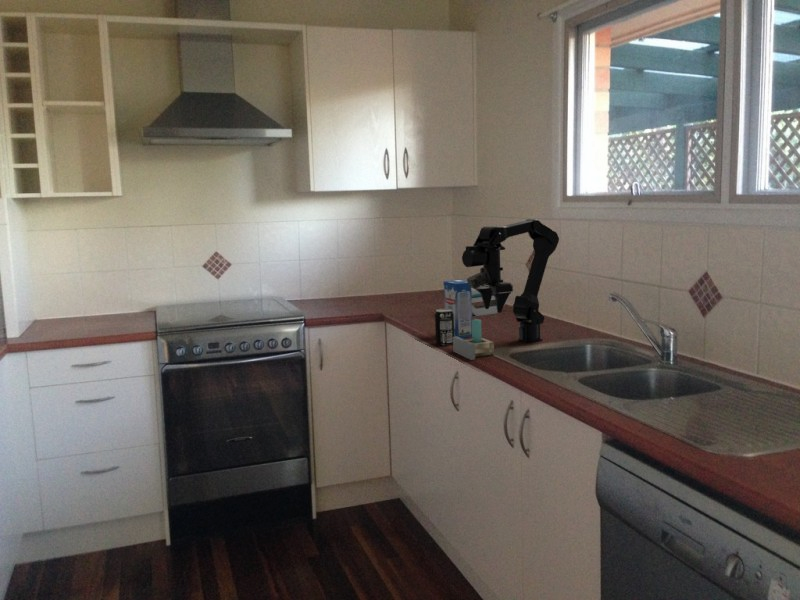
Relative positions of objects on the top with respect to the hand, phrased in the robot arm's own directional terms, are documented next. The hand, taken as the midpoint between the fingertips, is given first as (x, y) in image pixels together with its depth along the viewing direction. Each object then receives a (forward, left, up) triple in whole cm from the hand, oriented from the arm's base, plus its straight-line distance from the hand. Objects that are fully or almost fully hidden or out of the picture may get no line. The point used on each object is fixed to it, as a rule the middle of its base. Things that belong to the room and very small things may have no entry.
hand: (493, 310), depth 243 cm
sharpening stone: (-26, -65, -13) cm, 71 cm away
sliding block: (+9, +6, -12) cm, 17 cm away
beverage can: (+12, -14, -13) cm, 22 cm away
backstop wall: (+14, +6, -12) cm, 19 cm away
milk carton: (+2, -25, -13) cm, 28 cm away
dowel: (+9, +6, -11) cm, 16 cm away
